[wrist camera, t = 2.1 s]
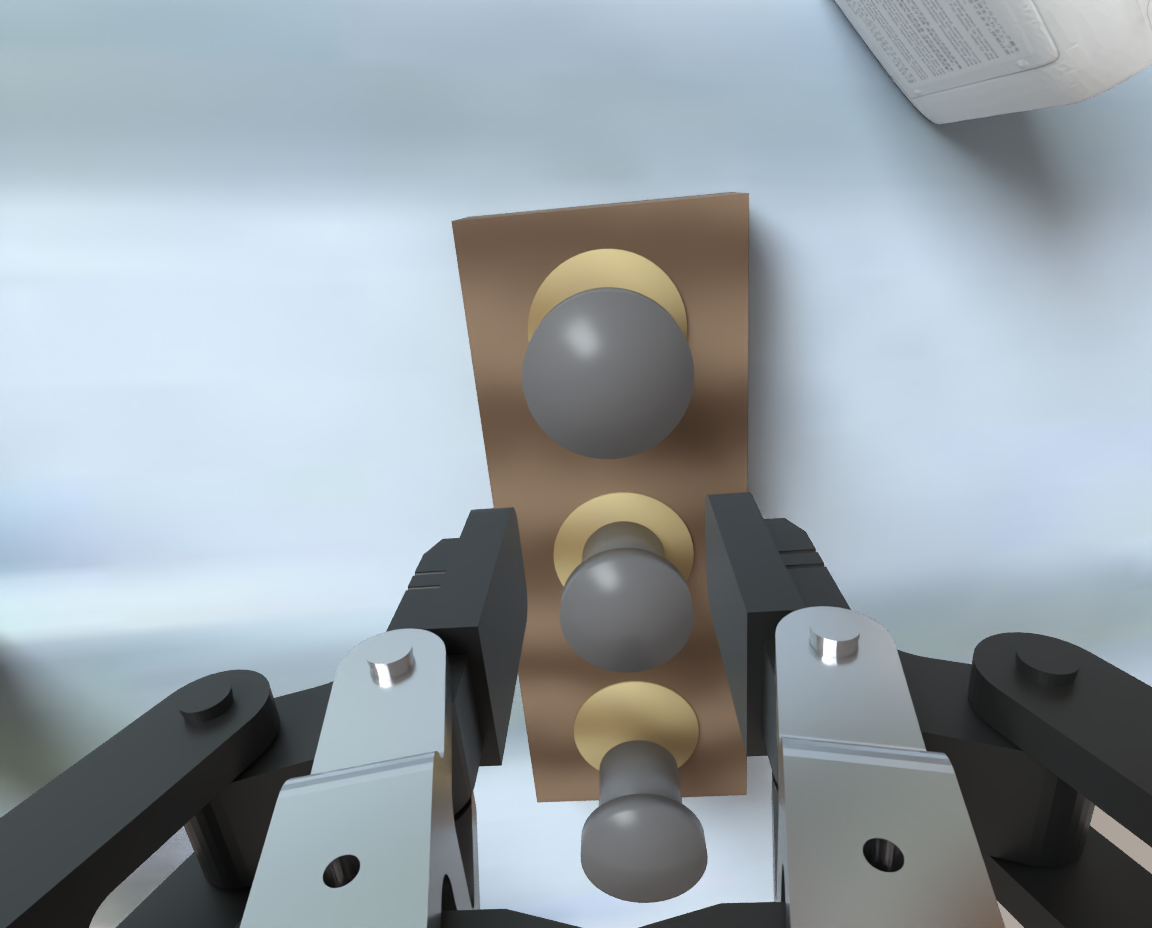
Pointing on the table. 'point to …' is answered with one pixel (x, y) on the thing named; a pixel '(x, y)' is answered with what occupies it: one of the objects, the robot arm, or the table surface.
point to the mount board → (616, 469)
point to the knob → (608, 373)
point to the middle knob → (626, 601)
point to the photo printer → (1003, 51)
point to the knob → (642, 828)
